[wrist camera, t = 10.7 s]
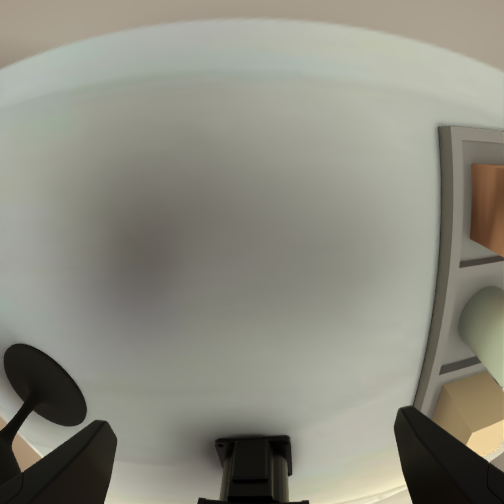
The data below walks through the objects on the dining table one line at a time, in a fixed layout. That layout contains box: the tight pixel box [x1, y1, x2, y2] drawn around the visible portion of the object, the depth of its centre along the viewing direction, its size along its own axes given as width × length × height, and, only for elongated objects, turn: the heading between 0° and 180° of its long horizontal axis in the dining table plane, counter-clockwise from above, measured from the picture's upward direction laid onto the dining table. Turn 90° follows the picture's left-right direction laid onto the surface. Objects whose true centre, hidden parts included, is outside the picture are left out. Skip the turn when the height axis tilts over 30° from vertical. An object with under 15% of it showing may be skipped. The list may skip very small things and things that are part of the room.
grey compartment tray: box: [413, 126, 504, 457], centre depth 17 cm, size 27×10×6 cm, turn 6°
